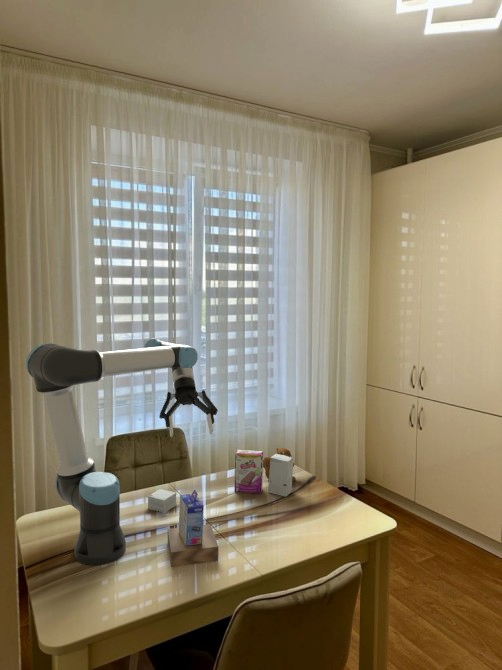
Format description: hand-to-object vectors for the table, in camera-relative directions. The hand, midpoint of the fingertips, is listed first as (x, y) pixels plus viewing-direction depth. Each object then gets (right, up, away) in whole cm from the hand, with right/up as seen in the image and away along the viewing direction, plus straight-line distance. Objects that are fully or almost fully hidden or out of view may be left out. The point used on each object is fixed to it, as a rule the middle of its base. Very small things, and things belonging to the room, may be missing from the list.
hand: (191, 433), depth 160 cm
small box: (-13, -31, +17) cm, 38 cm away
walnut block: (+2, -34, -13) cm, 37 cm away
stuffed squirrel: (+32, -30, +46) cm, 63 cm away
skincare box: (+32, -31, +32) cm, 55 cm away
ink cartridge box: (+1, -30, -13) cm, 33 cm away
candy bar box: (+19, -30, +33) cm, 49 cm away
